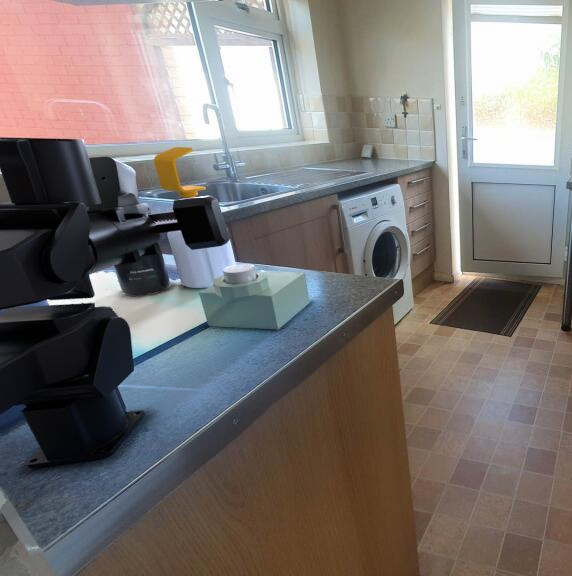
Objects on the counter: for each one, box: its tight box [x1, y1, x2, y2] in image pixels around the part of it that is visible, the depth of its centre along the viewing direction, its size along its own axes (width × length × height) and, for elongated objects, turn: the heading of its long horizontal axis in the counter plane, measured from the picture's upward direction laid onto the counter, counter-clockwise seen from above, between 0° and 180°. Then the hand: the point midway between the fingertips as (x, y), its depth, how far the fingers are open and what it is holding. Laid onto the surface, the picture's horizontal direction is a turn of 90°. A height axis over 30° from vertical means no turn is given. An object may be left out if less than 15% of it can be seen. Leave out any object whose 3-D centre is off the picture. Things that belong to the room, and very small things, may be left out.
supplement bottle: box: [113, 241, 171, 297], centre depth 72 cm, size 7×7×12 cm
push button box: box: [198, 269, 311, 330], centre depth 65 cm, size 11×11×8 cm
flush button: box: [223, 263, 257, 284], centre depth 62 cm, size 4×4×2 cm
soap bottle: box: [153, 146, 237, 289], centre depth 75 cm, size 9×9×25 cm
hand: (171, 221), depth 57 cm, fingers open, 9 cm apart
